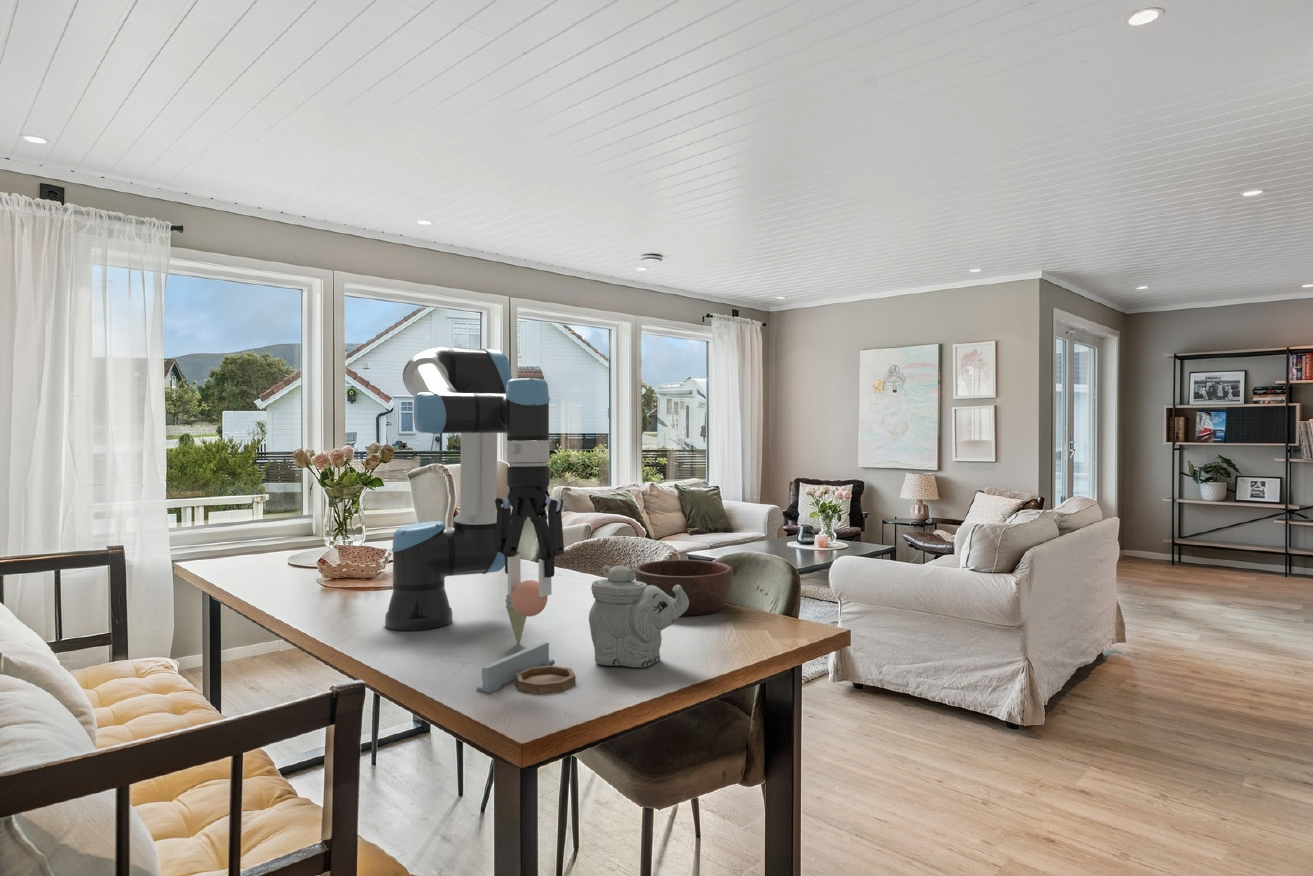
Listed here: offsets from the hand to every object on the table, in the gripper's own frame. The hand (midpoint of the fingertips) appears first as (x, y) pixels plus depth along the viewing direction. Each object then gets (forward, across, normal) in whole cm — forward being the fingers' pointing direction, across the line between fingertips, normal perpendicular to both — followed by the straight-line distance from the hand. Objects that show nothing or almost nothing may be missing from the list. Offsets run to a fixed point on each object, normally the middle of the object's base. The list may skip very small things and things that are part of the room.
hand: (529, 593), depth 136 cm
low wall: (+16, -4, +2) cm, 16 cm away
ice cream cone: (+16, -18, +18) cm, 30 cm away
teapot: (+16, +12, +19) cm, 27 cm away
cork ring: (+16, +3, +1) cm, 16 cm away
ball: (+4, 0, 0) cm, 4 cm away
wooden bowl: (+16, -1, +65) cm, 67 cm away
